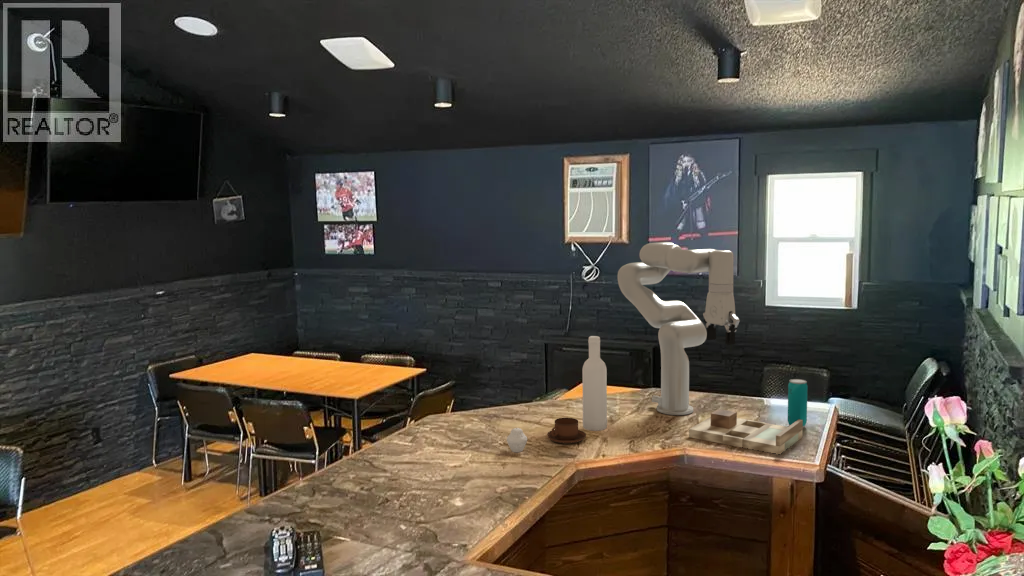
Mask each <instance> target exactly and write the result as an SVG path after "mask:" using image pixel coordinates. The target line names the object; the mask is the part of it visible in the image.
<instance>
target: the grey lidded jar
mask: <svg viewBox="0 0 1024 576" xmlns="http://www.w3.org/2000/svg"><path fill="white" fill-rule="evenodd" d="M523 431H524V430H523V429H522V428H520V427H515V428H512V429H511V430H510V433H509V435H507V437H506V442H507V445H508V446H509V448H510V451H511V452H512V453H521V452H523V450H524V448H525V447H526V445H527V442H528V437H527V435H526V434H525V432H523Z"/></svg>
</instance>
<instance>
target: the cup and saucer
mask: <svg viewBox="0 0 1024 576" xmlns="http://www.w3.org/2000/svg"><path fill="white" fill-rule="evenodd" d="M546 436H547V439H549V440H550V441H552V442H555V443H558V444H575V443H578V442H582V441H583V440H584V439H585V438H586V436H587V434H586V432H585V431H583V430H582V429H581V430H580V429H579V420H578V419H576V418H573V417H560V418H557V419H554V426H553V427H552V428H551V430H550V431H549V432H547V434H546Z"/></svg>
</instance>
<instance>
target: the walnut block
mask: <svg viewBox="0 0 1024 576" xmlns="http://www.w3.org/2000/svg"><path fill="white" fill-rule="evenodd" d="M710 417H711V426H715V427H720V428H726V429H730V428H732V427H733V426H735V425H737V418H738V412H737V411H732V410H727V409H722V408H721V409H720V408H719V409H716V410H714V411H712V412H711V413H710Z"/></svg>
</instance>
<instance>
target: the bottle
mask: <svg viewBox="0 0 1024 576" xmlns="http://www.w3.org/2000/svg"><path fill="white" fill-rule="evenodd" d="M587 341H588V342H587V343H588V359H586V360H585V361H584V363H583V365H582V374H581V375H582V428H583V429H584V430H586V431H594V432H599V431H604V430H606V429H607V427H608V415H607V414H608V413H607V412H608V410H607V409H608V398H607V397H608V395H607V394H608V392H607V391H608V390H607V386H608V385H607V383H608V382H607V375H608V373H607V370H608V369H607V365H606V363H605V362H604V360H603V359H602V358H601V337H600V336H598V335H590V336H589V337H588V340H587Z"/></svg>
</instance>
